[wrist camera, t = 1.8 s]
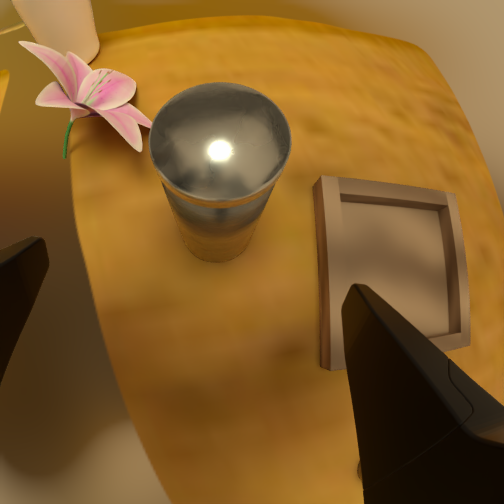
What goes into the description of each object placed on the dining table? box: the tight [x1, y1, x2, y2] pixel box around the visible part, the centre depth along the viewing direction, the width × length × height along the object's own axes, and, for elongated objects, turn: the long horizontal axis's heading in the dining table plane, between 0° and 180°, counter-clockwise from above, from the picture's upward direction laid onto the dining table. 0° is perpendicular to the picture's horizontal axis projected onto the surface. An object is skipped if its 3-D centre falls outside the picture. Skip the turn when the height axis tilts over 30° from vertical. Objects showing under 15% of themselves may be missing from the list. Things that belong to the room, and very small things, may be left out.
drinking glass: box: [11, 0, 100, 64], centre depth 15 cm, size 7×7×15 cm
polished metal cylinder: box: [149, 82, 291, 263], centre depth 15 cm, size 5×5×11 cm
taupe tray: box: [313, 175, 470, 371], centre depth 20 cm, size 12×12×2 cm
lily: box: [19, 41, 152, 159], centre depth 17 cm, size 12×12×10 cm
